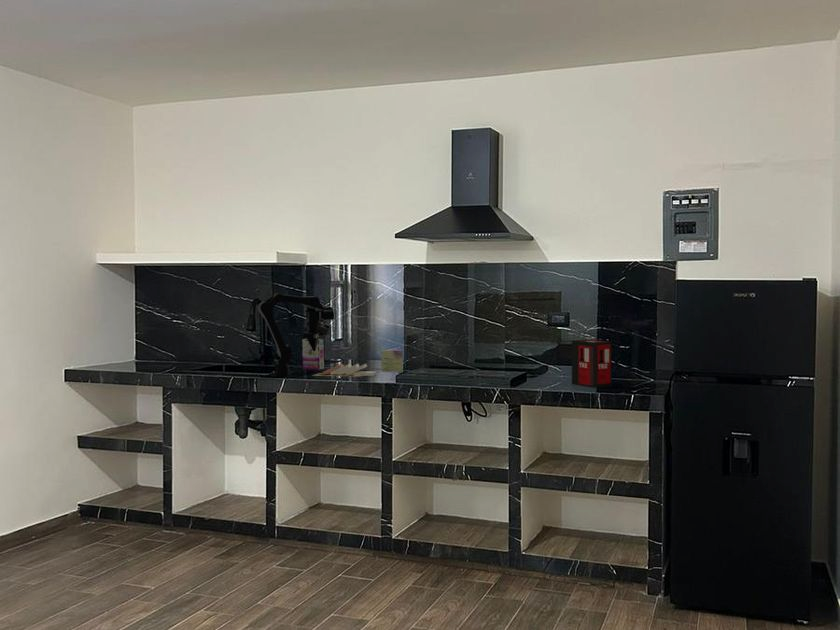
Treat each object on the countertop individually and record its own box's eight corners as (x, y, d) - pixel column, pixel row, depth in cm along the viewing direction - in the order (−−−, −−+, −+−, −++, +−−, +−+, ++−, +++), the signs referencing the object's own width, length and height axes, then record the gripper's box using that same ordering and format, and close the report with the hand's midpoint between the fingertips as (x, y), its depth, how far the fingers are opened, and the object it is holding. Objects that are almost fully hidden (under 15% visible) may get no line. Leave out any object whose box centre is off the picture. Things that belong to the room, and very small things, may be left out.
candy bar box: (324, 369, 444) (324, 339, 443) (319, 370, 440) (318, 339, 439) (307, 368, 450) (307, 338, 449) (302, 369, 445) (301, 339, 444)
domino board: (311, 377, 410) (311, 375, 410) (318, 375, 420) (318, 373, 420) (361, 378, 404) (361, 376, 404) (367, 375, 414) (367, 373, 414)
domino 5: (353, 372, 408) (373, 372, 406) (356, 371, 413) (375, 371, 410) (353, 375, 408) (373, 376, 406) (356, 374, 413) (376, 374, 411)
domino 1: (322, 372, 411) (339, 364, 409) (325, 370, 416) (342, 363, 414) (323, 375, 411) (340, 367, 409) (326, 373, 416) (344, 366, 414)
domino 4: (345, 372, 409) (363, 364, 406) (348, 371, 414) (366, 363, 411) (346, 375, 409) (364, 367, 406) (350, 374, 414) (367, 366, 411)
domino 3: (338, 372, 410) (355, 364, 407) (341, 371, 414) (358, 363, 412) (339, 375, 410) (356, 367, 407) (342, 374, 414) (359, 366, 412)
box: (401, 371, 430) (400, 349, 430) (402, 373, 425) (402, 350, 424) (381, 372, 429) (381, 349, 428) (382, 373, 423) (382, 350, 422)
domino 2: (330, 372, 411) (347, 364, 408) (333, 371, 415) (350, 363, 413) (331, 375, 410) (348, 367, 408) (334, 374, 415) (351, 366, 413)
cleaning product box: (571, 383, 377) (571, 340, 376) (586, 382, 382) (586, 339, 380) (596, 388, 363) (596, 343, 362) (611, 386, 367) (611, 341, 366)
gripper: (322, 321, 411) (323, 352, 412) (334, 319, 429) (335, 349, 430) (301, 321, 414) (302, 352, 414) (314, 319, 432) (314, 349, 433)
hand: (314, 350), depth 423 cm, fingers closed
